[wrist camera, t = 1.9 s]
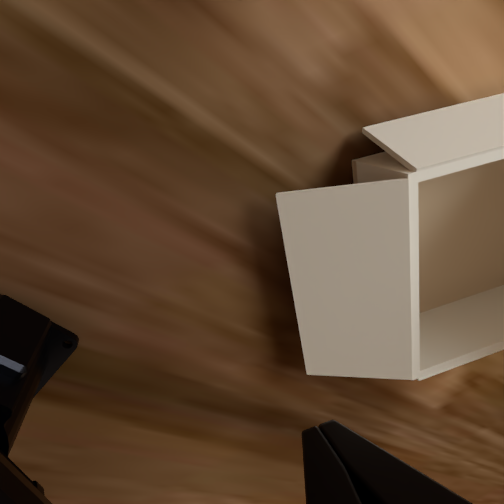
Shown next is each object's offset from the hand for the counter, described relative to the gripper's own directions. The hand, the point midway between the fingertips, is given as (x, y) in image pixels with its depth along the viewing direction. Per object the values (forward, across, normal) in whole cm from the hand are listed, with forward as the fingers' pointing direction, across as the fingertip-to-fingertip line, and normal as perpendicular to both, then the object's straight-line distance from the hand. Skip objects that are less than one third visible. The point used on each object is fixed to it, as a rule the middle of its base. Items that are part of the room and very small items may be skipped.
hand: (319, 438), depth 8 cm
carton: (+13, +12, -3) cm, 18 cm away
